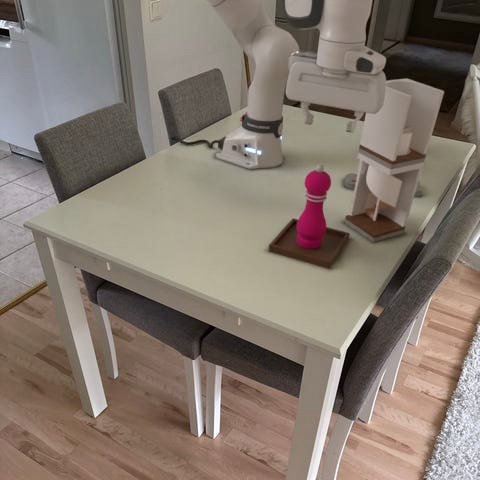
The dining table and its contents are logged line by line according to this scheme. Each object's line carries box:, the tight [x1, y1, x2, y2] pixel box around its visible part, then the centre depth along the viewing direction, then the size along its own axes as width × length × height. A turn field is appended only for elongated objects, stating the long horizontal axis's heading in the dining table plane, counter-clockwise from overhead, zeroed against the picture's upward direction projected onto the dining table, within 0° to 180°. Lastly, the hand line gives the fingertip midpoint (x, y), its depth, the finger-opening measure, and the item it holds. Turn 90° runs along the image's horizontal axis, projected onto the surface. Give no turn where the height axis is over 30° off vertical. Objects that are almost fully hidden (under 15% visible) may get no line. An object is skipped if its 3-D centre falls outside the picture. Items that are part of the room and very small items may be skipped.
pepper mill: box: [296, 164, 332, 249], centre depth 115 cm, size 7×7×20 cm
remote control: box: [344, 172, 422, 198], centre depth 149 cm, size 8×23×2 cm, turn 79°
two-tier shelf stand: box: [344, 78, 445, 243], centre depth 119 cm, size 11×11×35 cm
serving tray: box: [268, 217, 350, 269], centre depth 121 cm, size 16×16×2 cm
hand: (328, 127), depth 104 cm, fingers open, 8 cm apart
